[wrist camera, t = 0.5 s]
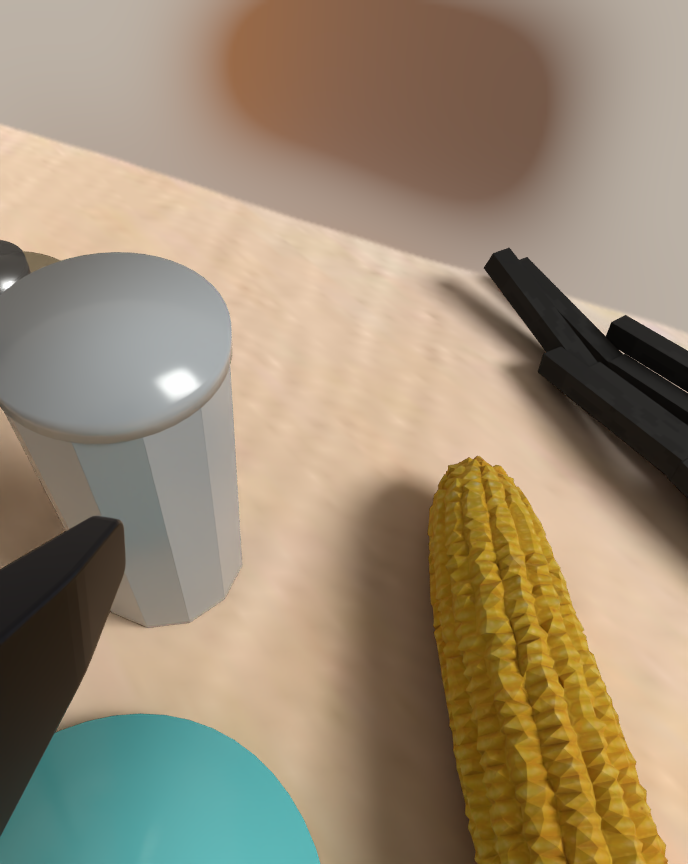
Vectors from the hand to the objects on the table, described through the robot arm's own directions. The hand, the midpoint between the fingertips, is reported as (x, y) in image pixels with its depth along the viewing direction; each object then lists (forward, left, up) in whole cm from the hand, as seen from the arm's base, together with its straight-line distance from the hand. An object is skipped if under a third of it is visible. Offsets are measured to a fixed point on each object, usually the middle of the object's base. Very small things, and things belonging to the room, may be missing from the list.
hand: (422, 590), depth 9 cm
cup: (+5, +9, -16) cm, 19 cm away
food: (+4, -6, -17) cm, 18 cm away
